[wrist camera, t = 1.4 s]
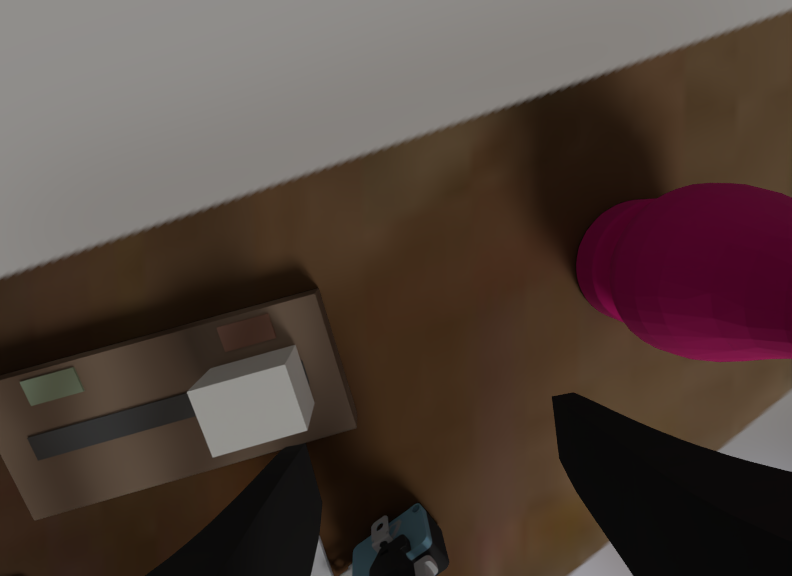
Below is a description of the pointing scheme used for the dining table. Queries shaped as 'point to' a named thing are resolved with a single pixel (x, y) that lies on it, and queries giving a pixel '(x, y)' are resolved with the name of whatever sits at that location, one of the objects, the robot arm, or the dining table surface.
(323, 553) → the parts mat
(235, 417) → the switch tab
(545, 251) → the dining table surface
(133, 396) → the switch board
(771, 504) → the robot arm
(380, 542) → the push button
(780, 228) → the pepper mill
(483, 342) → the dining table surface
